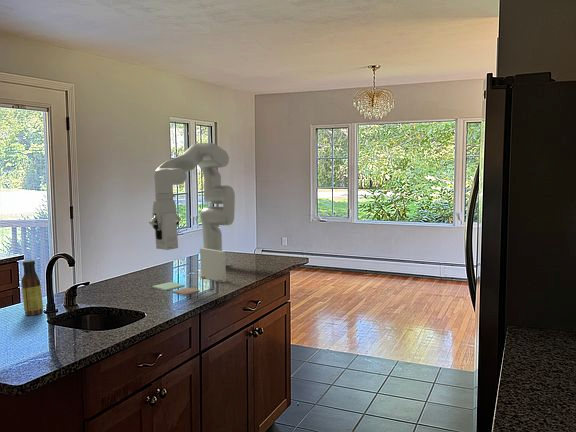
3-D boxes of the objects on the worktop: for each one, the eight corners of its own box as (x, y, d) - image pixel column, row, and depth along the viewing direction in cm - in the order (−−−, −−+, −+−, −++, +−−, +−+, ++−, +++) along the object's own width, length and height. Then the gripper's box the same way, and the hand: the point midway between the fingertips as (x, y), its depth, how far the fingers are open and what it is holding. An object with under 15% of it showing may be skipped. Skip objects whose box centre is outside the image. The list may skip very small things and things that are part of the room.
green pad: (171, 283, 241) (170, 281, 241) (184, 286, 234) (184, 285, 234) (152, 287, 233) (152, 286, 233) (165, 290, 227) (165, 289, 226)
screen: (205, 276, 253) (204, 247, 251) (228, 281, 242) (227, 251, 241) (199, 278, 250) (197, 248, 248) (221, 282, 239) (220, 252, 238)
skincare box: (178, 248, 231) (177, 213, 230) (165, 250, 226) (164, 214, 225) (167, 246, 237) (165, 212, 235) (154, 248, 232) (153, 213, 231)
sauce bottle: (47, 311, 198) (43, 259, 196) (35, 316, 192) (31, 262, 190) (31, 310, 199) (28, 259, 197) (20, 315, 193) (16, 262, 191)
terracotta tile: (187, 288, 229) (187, 287, 229) (199, 291, 224) (199, 290, 224) (172, 292, 223) (172, 291, 223) (183, 295, 218) (183, 294, 218)
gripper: (175, 195, 238) (177, 235, 240) (142, 198, 226) (144, 240, 227) (185, 196, 233) (187, 236, 235) (152, 199, 221) (154, 241, 222)
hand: (166, 237), depth 231 cm, fingers closed on skincare box, 6 cm apart
